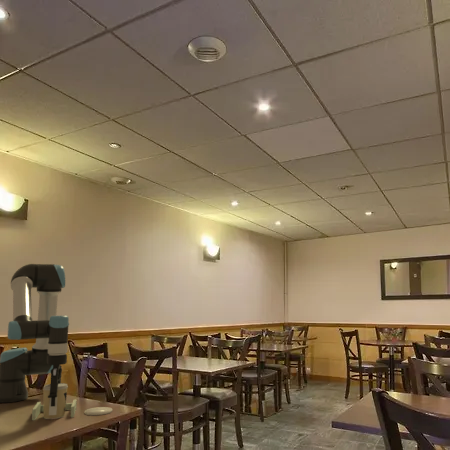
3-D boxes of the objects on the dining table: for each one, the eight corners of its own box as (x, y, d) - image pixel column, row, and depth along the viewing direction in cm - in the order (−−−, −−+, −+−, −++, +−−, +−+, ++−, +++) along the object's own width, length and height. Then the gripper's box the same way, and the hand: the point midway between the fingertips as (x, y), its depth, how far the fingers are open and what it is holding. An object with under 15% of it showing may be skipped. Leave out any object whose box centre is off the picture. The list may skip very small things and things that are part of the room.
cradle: (37, 411, 182) (38, 401, 183) (76, 408, 186) (76, 398, 187) (31, 420, 168) (32, 409, 169) (73, 417, 172) (74, 406, 173)
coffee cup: (69, 417, 172) (71, 385, 175) (45, 421, 167) (46, 388, 169) (62, 412, 180) (63, 382, 182) (38, 416, 174) (40, 384, 176)
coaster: (85, 410, 183) (85, 408, 184) (112, 408, 186) (112, 406, 186) (83, 416, 173) (83, 414, 173) (112, 414, 176) (112, 412, 176)
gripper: (50, 351, 188) (47, 406, 184) (43, 357, 166) (40, 419, 162) (69, 351, 190) (66, 404, 186) (64, 356, 168) (61, 417, 164)
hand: (54, 411), depth 174 cm, fingers open, 10 cm apart
